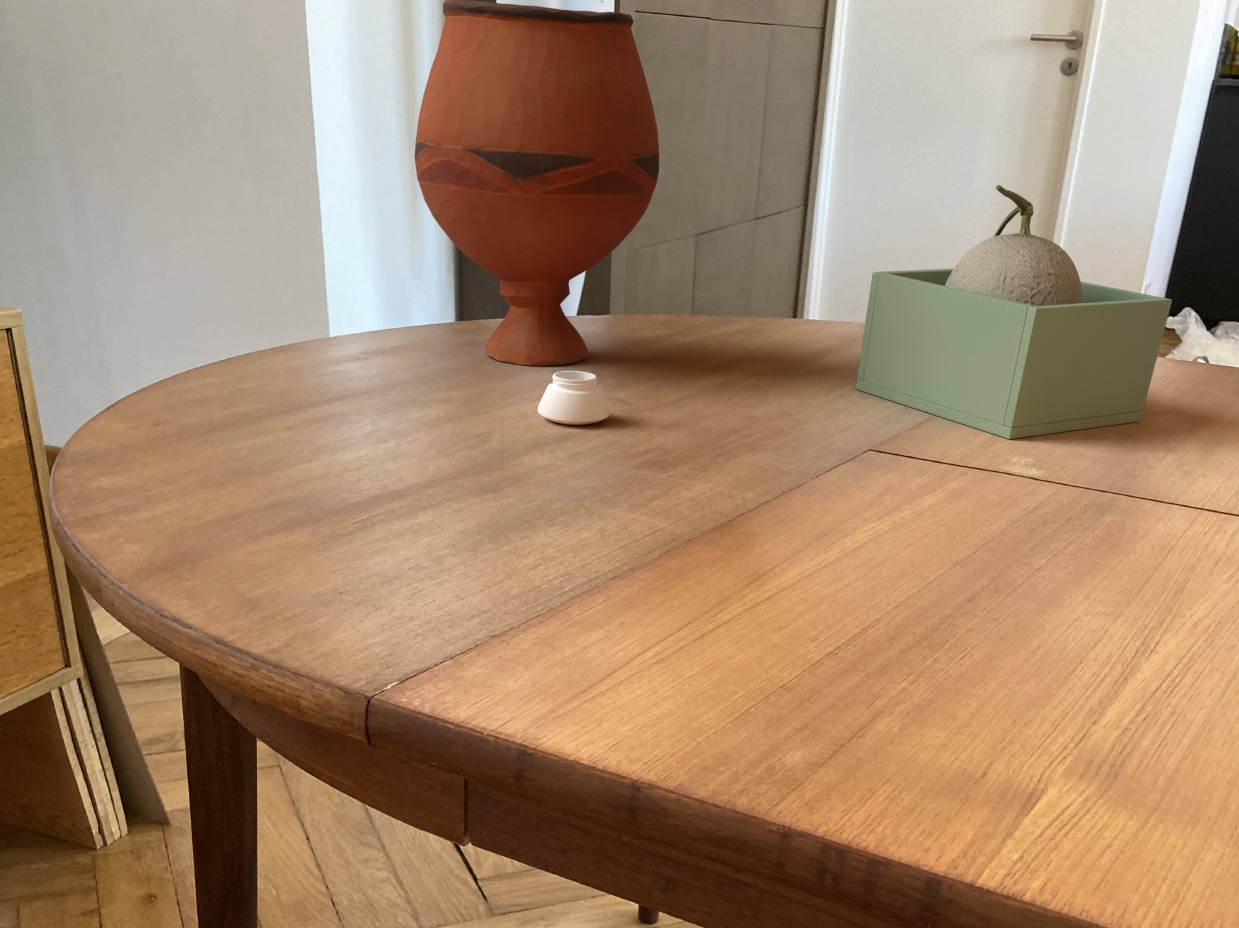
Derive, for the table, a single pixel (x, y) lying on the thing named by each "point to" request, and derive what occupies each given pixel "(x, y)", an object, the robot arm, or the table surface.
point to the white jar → (574, 399)
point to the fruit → (1019, 265)
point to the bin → (1010, 354)
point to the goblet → (536, 156)
